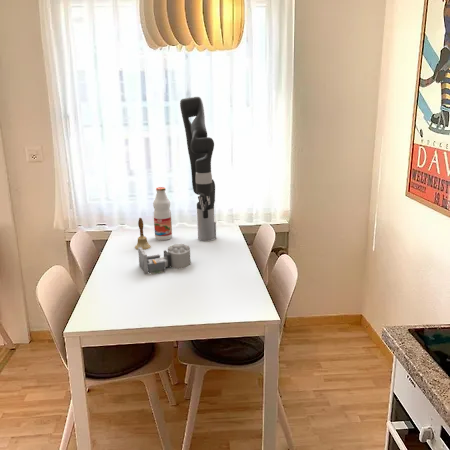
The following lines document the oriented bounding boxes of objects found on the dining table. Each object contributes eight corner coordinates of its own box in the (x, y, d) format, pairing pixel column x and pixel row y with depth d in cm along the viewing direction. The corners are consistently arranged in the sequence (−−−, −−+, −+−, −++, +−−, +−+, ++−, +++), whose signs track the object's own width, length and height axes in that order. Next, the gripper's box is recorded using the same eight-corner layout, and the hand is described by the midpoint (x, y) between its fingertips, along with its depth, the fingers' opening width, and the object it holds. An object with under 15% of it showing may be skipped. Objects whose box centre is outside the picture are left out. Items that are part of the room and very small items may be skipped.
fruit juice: (175, 236, 275) (172, 186, 267) (167, 241, 266) (164, 190, 258) (160, 234, 278) (156, 185, 270) (152, 239, 269) (148, 189, 261)
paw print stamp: (189, 258, 240) (189, 241, 238) (191, 268, 228) (190, 250, 226) (168, 259, 239) (167, 242, 237) (168, 269, 227) (167, 251, 224)
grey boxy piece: (166, 262, 234) (166, 250, 233) (172, 270, 225) (172, 257, 223) (147, 265, 231) (146, 253, 229) (153, 273, 221) (152, 260, 220)
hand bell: (149, 250, 253) (147, 220, 249) (133, 250, 254) (130, 220, 249) (152, 244, 261) (150, 215, 257) (136, 244, 261) (134, 215, 257)
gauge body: (159, 262, 236) (158, 244, 233) (166, 272, 224) (165, 253, 221) (139, 265, 233) (138, 247, 230) (145, 275, 221) (144, 256, 218)
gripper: (216, 183, 222) (218, 220, 227) (206, 178, 234) (208, 213, 239) (200, 185, 219) (202, 222, 225) (191, 179, 231) (193, 215, 236)
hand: (205, 217), depth 232 cm, fingers closed
